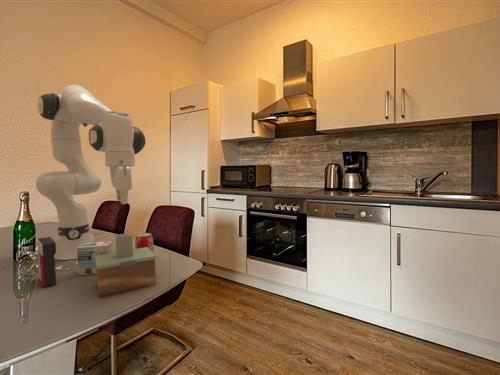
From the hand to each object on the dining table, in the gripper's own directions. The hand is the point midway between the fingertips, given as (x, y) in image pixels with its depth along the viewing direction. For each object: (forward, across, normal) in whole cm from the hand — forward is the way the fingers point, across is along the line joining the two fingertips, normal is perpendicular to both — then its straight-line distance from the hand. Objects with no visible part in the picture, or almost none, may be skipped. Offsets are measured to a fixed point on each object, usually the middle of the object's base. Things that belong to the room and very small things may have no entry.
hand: (122, 202), depth 91 cm
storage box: (+28, 0, 0) cm, 28 cm away
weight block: (+18, 0, 0) cm, 18 cm away
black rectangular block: (+29, +18, +23) cm, 41 cm away
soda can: (+29, +19, -10) cm, 36 cm away
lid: (+20, -1, 0) cm, 20 cm away
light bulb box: (+29, +20, +8) cm, 36 cm away
